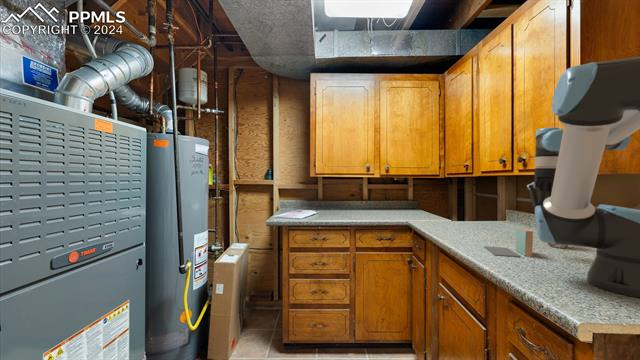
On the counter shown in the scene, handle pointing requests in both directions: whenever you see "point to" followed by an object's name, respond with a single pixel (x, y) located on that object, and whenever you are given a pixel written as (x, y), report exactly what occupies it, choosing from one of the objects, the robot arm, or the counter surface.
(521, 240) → the tile
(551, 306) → the counter surface
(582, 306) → the counter surface
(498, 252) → the mat
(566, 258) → the counter surface
